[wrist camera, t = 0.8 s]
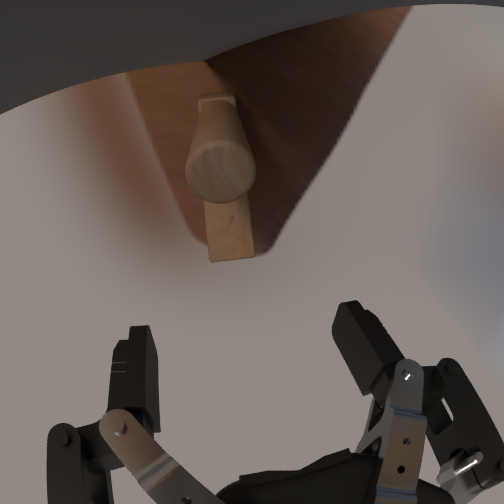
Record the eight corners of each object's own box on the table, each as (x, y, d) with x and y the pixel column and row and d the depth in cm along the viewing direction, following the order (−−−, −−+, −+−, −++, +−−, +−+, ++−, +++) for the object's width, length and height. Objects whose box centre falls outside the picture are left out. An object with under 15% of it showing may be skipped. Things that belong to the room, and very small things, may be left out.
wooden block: (210, 184, 33) (209, 301, 19) (198, 95, 26) (176, 143, 12) (242, 181, 33) (264, 294, 19) (234, 91, 27) (255, 133, 13)
